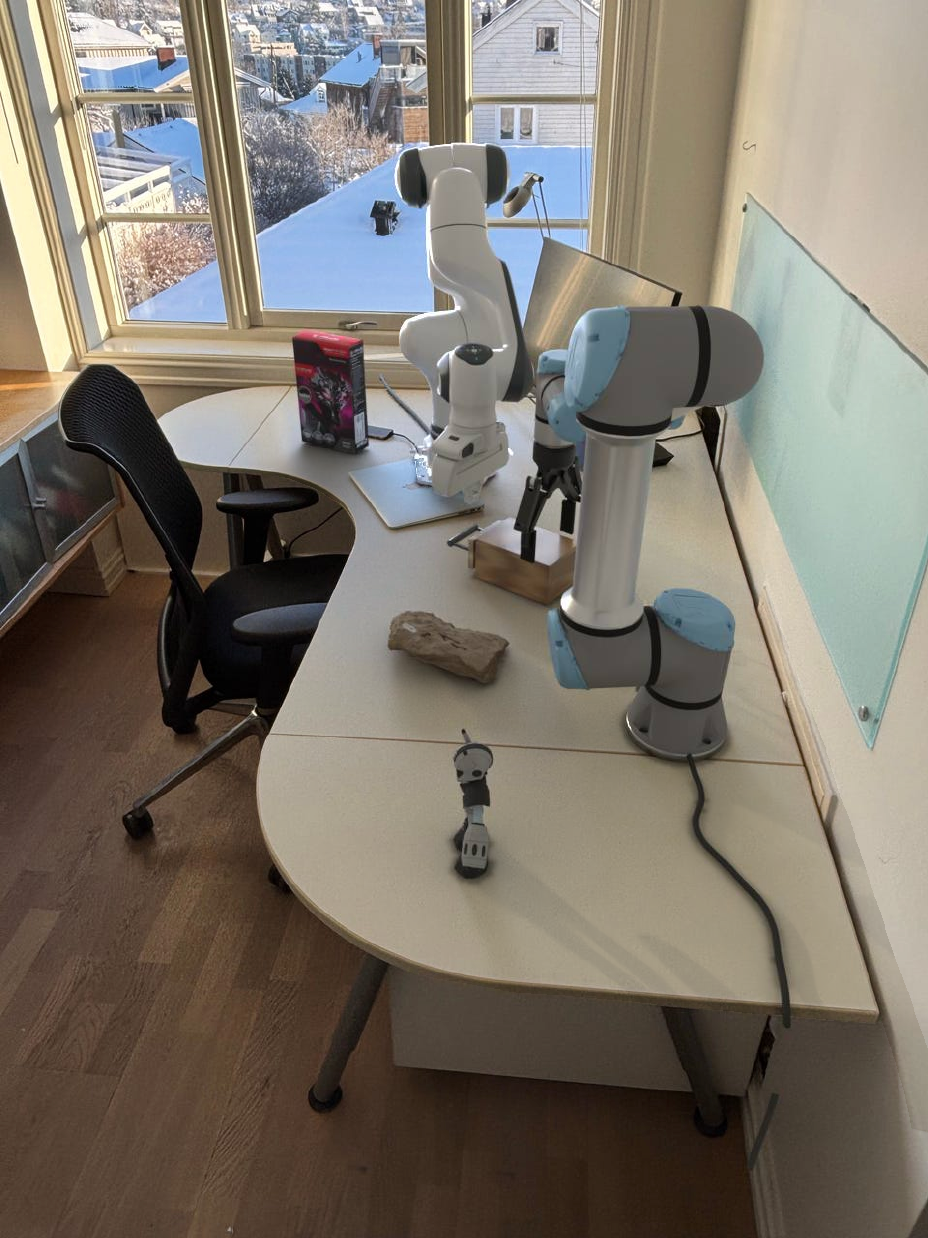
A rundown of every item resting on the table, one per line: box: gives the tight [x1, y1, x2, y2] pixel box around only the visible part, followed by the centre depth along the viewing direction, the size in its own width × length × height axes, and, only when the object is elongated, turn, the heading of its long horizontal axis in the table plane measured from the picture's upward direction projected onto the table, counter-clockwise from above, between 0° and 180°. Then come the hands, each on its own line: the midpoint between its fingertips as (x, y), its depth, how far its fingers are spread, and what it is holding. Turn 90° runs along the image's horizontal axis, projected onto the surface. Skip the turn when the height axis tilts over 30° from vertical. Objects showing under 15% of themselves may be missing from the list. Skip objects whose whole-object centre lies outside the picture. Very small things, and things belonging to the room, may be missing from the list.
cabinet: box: [474, 516, 577, 606], centre depth 178 cm, size 17×11×9 cm
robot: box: [452, 728, 494, 879], centre depth 116 cm, size 20×5×20 cm, turn 3°
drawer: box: [446, 519, 503, 570], centre depth 181 cm, size 21×10×6 cm, turn 53°
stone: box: [387, 610, 510, 685], centre depth 156 cm, size 21×15×6 cm
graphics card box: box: [291, 329, 370, 455], centre depth 226 cm, size 17×7×27 cm, turn 62°
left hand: (471, 500), depth 180 cm, fingers closed
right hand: (547, 545), depth 174 cm, fingers open, 13 cm apart
